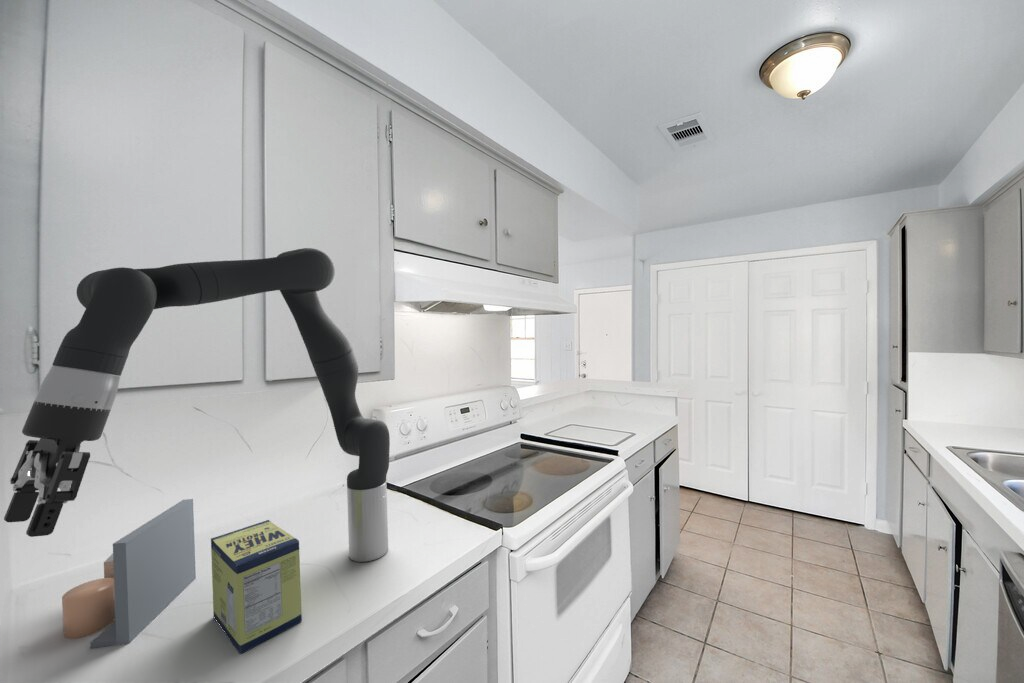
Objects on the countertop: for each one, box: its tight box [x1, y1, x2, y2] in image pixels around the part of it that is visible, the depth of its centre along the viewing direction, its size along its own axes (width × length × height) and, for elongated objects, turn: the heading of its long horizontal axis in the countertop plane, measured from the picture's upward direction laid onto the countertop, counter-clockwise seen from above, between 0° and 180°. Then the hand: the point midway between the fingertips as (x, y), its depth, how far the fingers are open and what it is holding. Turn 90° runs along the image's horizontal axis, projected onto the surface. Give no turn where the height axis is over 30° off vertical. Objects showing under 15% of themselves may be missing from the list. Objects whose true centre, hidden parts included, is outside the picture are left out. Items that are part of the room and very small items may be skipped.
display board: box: [89, 498, 197, 649], centre depth 82 cm, size 20×6×18 cm, turn 10°
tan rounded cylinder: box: [61, 577, 116, 640], centre depth 78 cm, size 7×7×7 cm
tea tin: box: [103, 553, 114, 579], centre depth 87 cm, size 5×5×9 cm
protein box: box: [210, 519, 303, 654], centre depth 78 cm, size 10×16×16 cm
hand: (26, 528), depth 53 cm, fingers open, 8 cm apart
